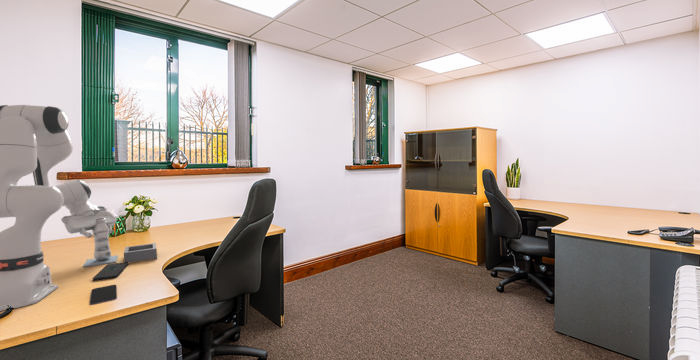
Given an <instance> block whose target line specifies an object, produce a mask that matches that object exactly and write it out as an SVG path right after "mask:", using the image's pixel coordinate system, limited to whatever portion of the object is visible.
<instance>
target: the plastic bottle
mask: <svg viewBox="0 0 700 360" xmlns="http://www.w3.org/2000/svg"><path fill="white" fill-rule="evenodd" d="M105 222H106V221H105V218H98V219H96V222H95V223H96V225H95V226H94V228H93V230H91V231H92V236H93V240H94V241H93V242H94V253H93V257H94V258H93V259H96V260H105V259H108V258H110V257H111V256H112V250H111V247H110V241H109V237H110V233H109V227H108V226H107V225H106V224H105Z"/></svg>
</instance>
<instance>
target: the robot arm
mask: <svg viewBox="0 0 700 360" xmlns="http://www.w3.org/2000/svg"><path fill="white" fill-rule="evenodd" d="M68 127H69V118H68V115H67V113H66V112H65V111H64V110H63V109H61V108H59V107H56V106H41V105H30V104H14V105H13V104H11V105H8V104H3V105H0V219H1V218H4V219H5V218H15V223H13V224H14V225H12V226H9V227H7V228H6V229H3V230H2V231H0V312H3V311H7V310H6V309H7V308H8V306H7V305H9V307H10V306H11V307H13V308H14V309H17V308H22V307H25V306H29V305H34V304H36V303H39V302H40V301H41V300H43V299H44V298H45V297H47V296H48V295H49V294H51V293H52V292H54V291H56V290H57V289H58V288H59V286H58V284H54V283H53V281H52V273H51V269H50V268H51V267H50V266H49V265H47V264H45V263H44V257H45V256H44V251H42V244H41V243H42V239H41V238H42V231H43V227H44V225H45V224H46V222H47V220H48V219H49V218H50V217H51V216H53V215H54V214H56V213H57V212H58V211H59V210H60V209H62V207H65V208H66V209H67V210H69V213H70V215H63V217H61V219H60V220H61V222H62V224H64V227H65V229H66V231H67V232H68V233H69V234H71V235H72V234H77V233H79V234H80V235H83V236H84V237H85V238H86V239H89V238H92V236H93V233H91V232H89V231H92V230H93V228H94V226H95V225H96V223H95V222H96V219H98V218H105V221H106V222H105V224H106V225H107V226H108V227H109V234H112V233H113V232H114V230H113V229H112V227H113V226H115V224H116V223H117V220H118V219H117V218H116V217H115V216H114V214H113V213H112V212H111V211H109V210H108V207H107V206H102V205H95V204H92V203H91V202H90V201H89V199H90V198H91V195H92V190H91V188H90V187H89V185H88V184H87V183H86V182H85V181H83V180H81V179H74V180H73V179H72V180H70V181H67V182H64V183H60V184H57V185H54V186H51V185H50V182H49V176H48V175H49V172H50V171H51V169H52V168H54V167H55V166H57V165H58V164H60V163H61V162H63V161H65V160H66V159H68V158H69V157H70V156H71V154H72V153H73V143H72V139H71V137H70V135H69V132H68V131H67V129H68ZM31 174H32V176H33V177H32V178H33V182H34V185H17V184H18V182H19V180H20V179H22V178H23V177H25V176H28V175H31ZM52 283H53V284H52Z"/></svg>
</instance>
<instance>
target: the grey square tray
mask: <svg viewBox="0 0 700 360" xmlns="http://www.w3.org/2000/svg"><path fill="white" fill-rule="evenodd" d="M157 249H158V248H157V243H156V242H154V243H147V244H138V245H131V246H125V247H124V250H123V262H128V264H131V263H135V262H143V261H149V260H155V259H158V254H157V253H158V251H157Z"/></svg>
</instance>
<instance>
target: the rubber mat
mask: <svg viewBox="0 0 700 360" xmlns="http://www.w3.org/2000/svg"><path fill="white" fill-rule="evenodd" d="M118 258H119V255H111V257H110V258H108V259H105V260H96V259H95V258H89V259H86V261H85V262H84V264H83V265H82V268H89V267H94V266H100V265H101V266H102V265H107V264H114V263H117V260H118Z"/></svg>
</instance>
